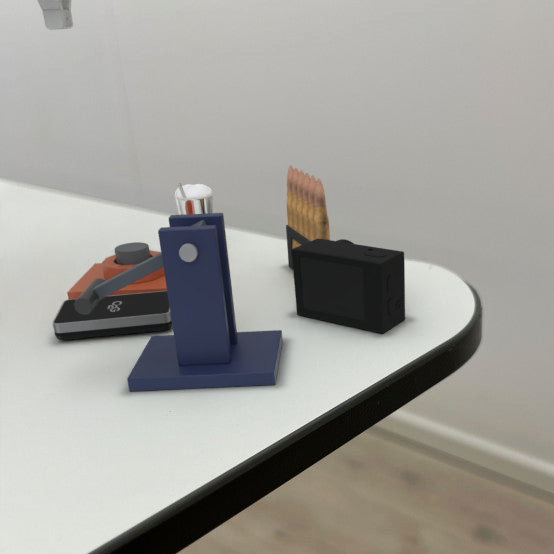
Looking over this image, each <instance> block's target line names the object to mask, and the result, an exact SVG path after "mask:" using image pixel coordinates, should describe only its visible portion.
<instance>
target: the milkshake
mask: <svg viewBox="0 0 554 554" xmlns="http://www.w3.org/2000/svg"><path fill="white" fill-rule="evenodd" d="M176 183H177V188H176V190H175V192H174V199H175V204H176V207H177V211H178V215H184V214H207V213H214V204H213V203H214V201H213V200H214V198H213V197H214V195H213V194H214V193H213V190H212V188H210V187H209V186H207V185H206V184H203V183H196V184H190V183H187V184H185V185H182V183H181V182H176Z"/></svg>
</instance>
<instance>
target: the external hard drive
mask: <svg viewBox="0 0 554 554" xmlns="http://www.w3.org/2000/svg"><path fill="white" fill-rule="evenodd" d="M76 300H77V299H66V300H63V302H62V304H61V305H60V306H59V309H58V311H57V313H56V314H55V316H54V319H53V320H52V328H53V332H54V335H55V337H56V338H57V340H60V341H66V340H67V341H68V340H76V339H87V338H99V337H107V336H108V337H109V336H119V335H128V334H139V333H140V334H141V333H148V332H149V333H150V332H159V331H160V332H161V331H168V330H169V329H171V328H172V327H173V326H172V320H171V313H170V307H169V300H168V293H167V291H157V292H146V293H135V294H123V295H112V296H106V297H104V298H102V299H101V300H100V301H99V302H98V303H97V305H96V306H95V307H94V308H93V310H92V311H91V312H90V313H88V314H80V313H78V312H77V311H76V309H75V307H74V303H75V301H76Z"/></svg>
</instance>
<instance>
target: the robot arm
mask: <svg viewBox="0 0 554 554" xmlns="http://www.w3.org/2000/svg"><path fill="white" fill-rule="evenodd" d="M37 2H38V5H39V7H40V9H41V11H42V16H43V20H44V21H43V22H44V25H45V27H46V29H48V30H50V31H51V30H52V31H53V30H55V31H57V30H70V29H72V28H73V26H74V22H73V15H72V0H37Z"/></svg>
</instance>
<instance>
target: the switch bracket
mask: <svg viewBox="0 0 554 554" xmlns="http://www.w3.org/2000/svg"><path fill="white" fill-rule="evenodd" d="M201 220H204V221H205V223H206V224H207V226H192V225H193V224H195V223H197V222H199V221H201ZM168 224H169V225H168V226H166V227H160V228H159V229H158V230H157V234H158V241H159V245H160V252H161V254H162V261H163V267H164V274H165V280H166V287H167V293H168V300H169V307H170V313H171V320H172V326H171V327H172V331H173V334H167V335H166V334H165V335H164V334H163V335H151V336H150V338H149V339H148V341H147V343H146V344H145V347H144V349H143V350H142V351H141V354H140V356H139V357H138V359H137V361H136V363H135V364H134V366H133V367H132V370H131V371H130V373H129V374H128V376H127V378H126V379H127V384H128V391H129V392H141V391H143V392H145V391H146V392H147V391H164V390H165V391H166V390H187V389H190V390H191V389H209V388H227V387H228V388H231V387H233V388H234V387H254V386H275V385H276V383H277V376H278V371H279V366H280V360H281V359H280V358H281V354H282V349H283V342H284V340H283V339H284V338H283V331H282V330H281V329H278V330H277V329H275V330H274V329H273V330H253V331H237V322H236V313H235V303H234V295H233V286H232V278H231V269H230V259H229V251H228V244H227V243H228V242H227V234H226V225H225V216H224V213H223V212H213V213H207V214H184V215H179V214H171V215H170V216H169V217H168Z"/></svg>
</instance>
